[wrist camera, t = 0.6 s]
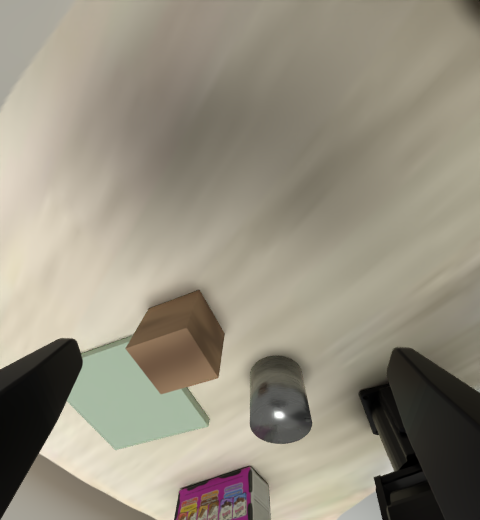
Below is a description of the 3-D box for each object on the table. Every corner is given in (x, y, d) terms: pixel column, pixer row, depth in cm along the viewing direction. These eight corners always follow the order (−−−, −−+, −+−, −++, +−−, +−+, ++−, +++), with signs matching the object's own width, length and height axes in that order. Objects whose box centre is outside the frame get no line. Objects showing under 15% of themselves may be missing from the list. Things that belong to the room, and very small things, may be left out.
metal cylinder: (308, 385, 27) (319, 436, 23) (261, 398, 28) (263, 448, 24) (291, 349, 25) (300, 396, 21) (242, 364, 26) (240, 412, 22)
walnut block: (224, 333, 25) (218, 377, 20) (176, 348, 26) (160, 394, 21) (199, 289, 23) (186, 327, 19) (149, 307, 24) (125, 348, 20)
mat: (209, 419, 30) (208, 426, 29) (118, 443, 32) (115, 450, 32) (146, 330, 25) (143, 336, 24) (44, 366, 27) (39, 372, 27)
